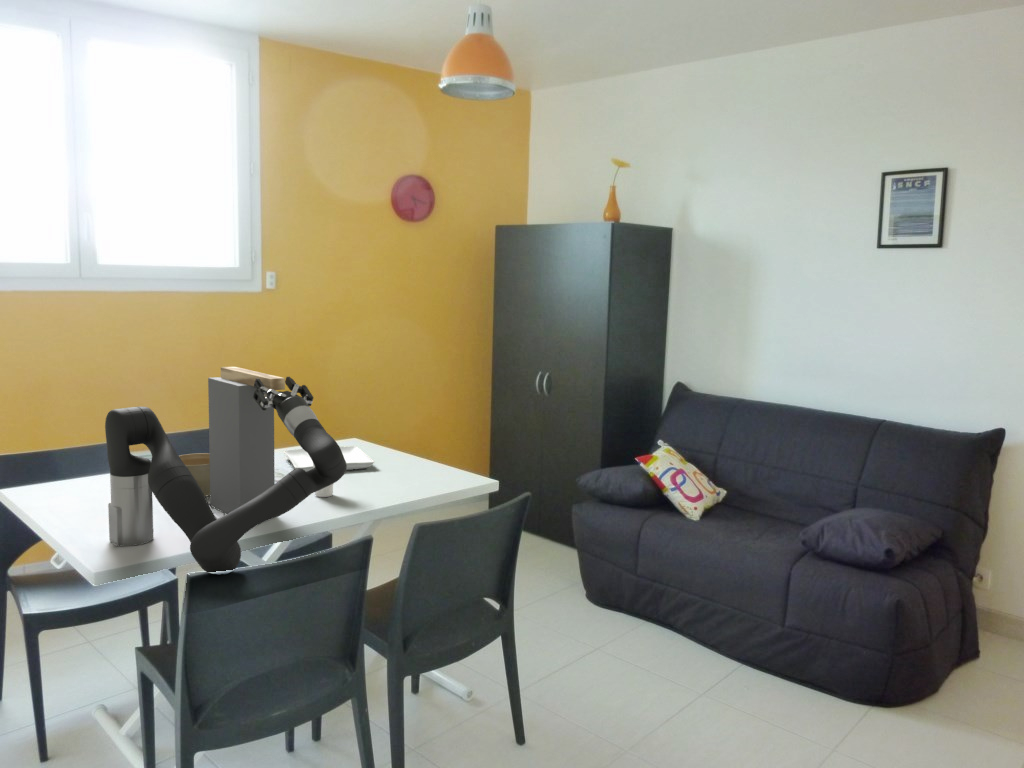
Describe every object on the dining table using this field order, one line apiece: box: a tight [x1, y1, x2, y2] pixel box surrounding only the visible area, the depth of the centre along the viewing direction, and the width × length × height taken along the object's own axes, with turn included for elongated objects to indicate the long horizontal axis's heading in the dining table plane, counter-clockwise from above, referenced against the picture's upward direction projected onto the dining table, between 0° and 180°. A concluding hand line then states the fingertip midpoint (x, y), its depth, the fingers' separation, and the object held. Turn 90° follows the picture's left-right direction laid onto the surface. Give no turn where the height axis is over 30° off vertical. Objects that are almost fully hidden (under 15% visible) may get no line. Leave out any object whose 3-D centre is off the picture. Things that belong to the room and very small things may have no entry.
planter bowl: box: [179, 452, 210, 497], centre depth 238 cm, size 16×16×11 cm
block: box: [220, 366, 286, 391], centre depth 214 cm, size 4×30×3 cm, turn 43°
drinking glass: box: [313, 463, 334, 498], centre depth 241 cm, size 7×7×15 cm
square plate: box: [282, 445, 375, 472], centre depth 282 cm, size 27×27×4 cm
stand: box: [207, 376, 276, 515], centre depth 222 cm, size 10×20×37 cm, turn 43°
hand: (272, 380), depth 206 cm, fingers open, 8 cm apart
